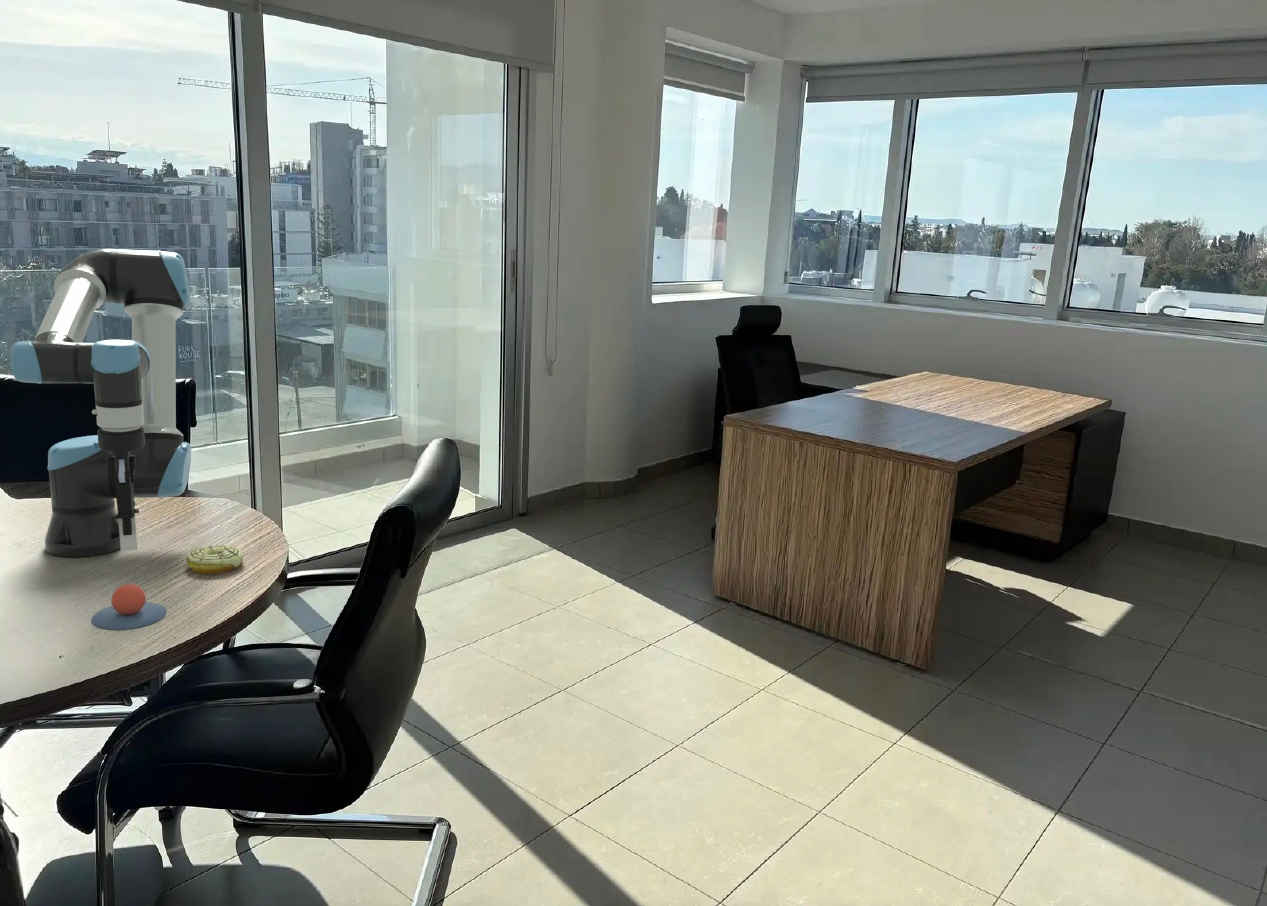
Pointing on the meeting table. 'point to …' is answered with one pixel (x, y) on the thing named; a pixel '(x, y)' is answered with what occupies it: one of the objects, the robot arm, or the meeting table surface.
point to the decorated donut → (214, 559)
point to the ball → (128, 599)
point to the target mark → (128, 617)
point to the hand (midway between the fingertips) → (129, 548)
